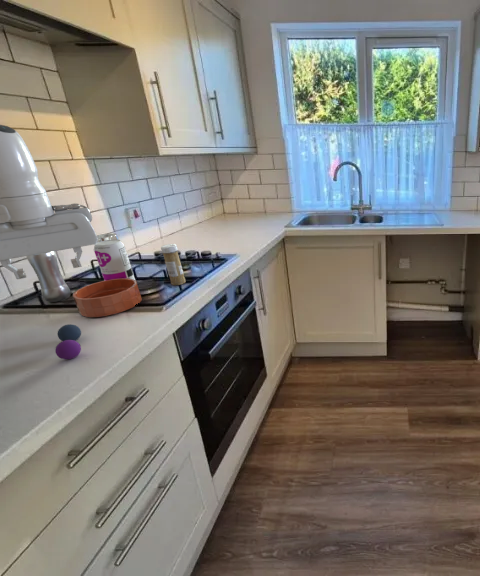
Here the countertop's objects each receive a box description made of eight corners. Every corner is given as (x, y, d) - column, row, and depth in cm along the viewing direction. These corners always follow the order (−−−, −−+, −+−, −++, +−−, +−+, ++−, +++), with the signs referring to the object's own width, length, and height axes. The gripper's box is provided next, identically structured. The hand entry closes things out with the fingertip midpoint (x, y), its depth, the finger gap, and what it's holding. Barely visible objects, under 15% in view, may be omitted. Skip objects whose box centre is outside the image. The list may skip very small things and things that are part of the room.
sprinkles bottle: (189, 282, 124) (179, 244, 119) (177, 286, 121) (166, 248, 115) (179, 280, 126) (170, 242, 121) (167, 284, 122) (157, 246, 117)
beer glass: (130, 276, 131) (117, 235, 125) (106, 280, 127) (92, 239, 121) (129, 270, 136) (117, 231, 130) (107, 274, 132) (93, 235, 126)
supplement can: (118, 290, 118) (103, 246, 112) (101, 287, 121) (85, 244, 115) (141, 281, 125) (128, 240, 119) (124, 279, 128) (111, 238, 122)
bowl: (67, 314, 103) (60, 295, 101) (119, 293, 116) (113, 276, 114) (104, 322, 98) (96, 302, 96) (153, 299, 112) (148, 281, 109)
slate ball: (57, 344, 88) (50, 328, 87) (76, 335, 92) (70, 320, 90) (68, 347, 87) (61, 331, 85) (87, 338, 91) (81, 322, 89)
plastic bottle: (55, 296, 115) (29, 235, 107) (78, 295, 116) (54, 234, 108) (40, 305, 109) (11, 241, 101) (64, 303, 110) (37, 240, 102)
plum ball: (54, 361, 82) (47, 344, 80) (75, 351, 85) (69, 334, 84) (67, 364, 80) (60, 348, 78) (88, 354, 84) (81, 338, 82)
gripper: (85, 200, 82) (106, 258, 88) (-46, 215, 70) (-12, 280, 76) (88, 203, 78) (109, 264, 83) (-52, 219, 66) (-16, 289, 71)
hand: (50, 272), depth 79 cm, fingers open, 8 cm apart
